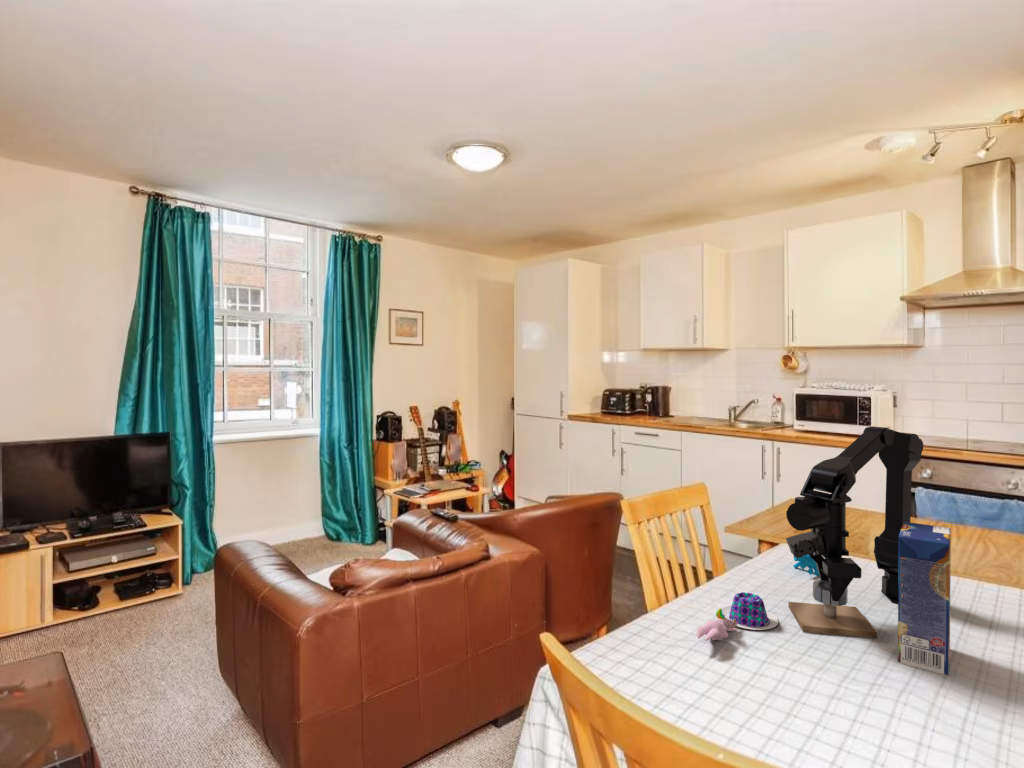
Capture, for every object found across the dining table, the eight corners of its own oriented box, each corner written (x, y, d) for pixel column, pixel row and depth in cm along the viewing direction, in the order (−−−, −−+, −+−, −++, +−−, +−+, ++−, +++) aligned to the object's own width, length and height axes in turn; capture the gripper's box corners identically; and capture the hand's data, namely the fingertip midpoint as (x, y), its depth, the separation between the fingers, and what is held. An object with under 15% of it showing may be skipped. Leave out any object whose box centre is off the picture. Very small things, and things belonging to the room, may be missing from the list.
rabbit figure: (715, 627, 122) (686, 642, 111) (716, 599, 122) (687, 612, 111) (744, 636, 118) (717, 653, 107) (745, 607, 118) (718, 621, 107)
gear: (808, 574, 143) (787, 539, 150) (792, 584, 147) (772, 550, 153) (836, 572, 148) (814, 538, 154) (820, 582, 152) (799, 549, 158)
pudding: (782, 616, 124) (782, 593, 124) (772, 638, 115) (772, 613, 114) (727, 603, 131) (727, 582, 131) (713, 623, 122) (713, 600, 121)
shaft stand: (855, 612, 125) (856, 585, 125) (877, 637, 113) (877, 608, 113) (788, 606, 128) (788, 580, 128) (802, 631, 117) (802, 602, 116)
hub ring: (841, 594, 123) (841, 581, 123) (851, 606, 117) (851, 592, 117) (809, 592, 125) (809, 579, 124) (818, 604, 118) (818, 590, 118)
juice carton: (948, 676, 99) (949, 544, 99) (897, 662, 104) (898, 536, 103) (949, 648, 109) (951, 527, 108) (903, 637, 113) (904, 521, 113)
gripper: (779, 510, 131) (780, 575, 132) (801, 534, 113) (801, 610, 113) (832, 512, 128) (832, 579, 129) (862, 537, 110) (862, 614, 111)
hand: (830, 594), depth 121 cm, fingers closed on hub ring, 6 cm apart
